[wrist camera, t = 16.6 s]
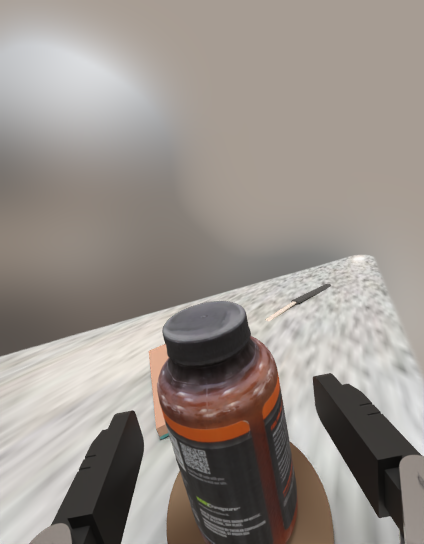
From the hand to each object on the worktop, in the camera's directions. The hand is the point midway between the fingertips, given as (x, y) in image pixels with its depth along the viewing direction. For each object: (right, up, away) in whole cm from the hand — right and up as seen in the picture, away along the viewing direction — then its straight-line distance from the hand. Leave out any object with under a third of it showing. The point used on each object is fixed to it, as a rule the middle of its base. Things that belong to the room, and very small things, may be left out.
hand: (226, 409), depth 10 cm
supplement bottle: (+1, -7, +3) cm, 8 cm away
